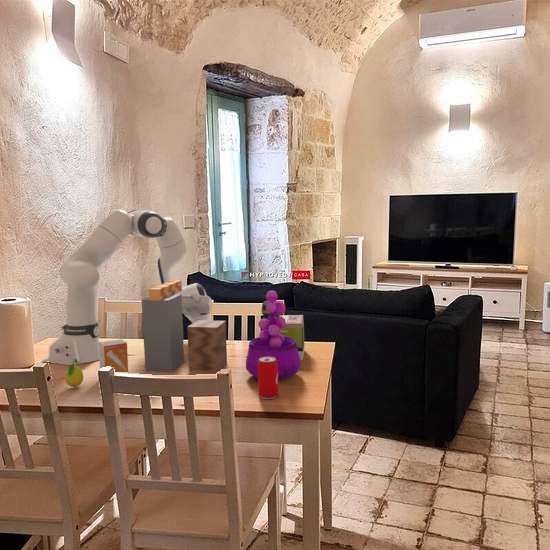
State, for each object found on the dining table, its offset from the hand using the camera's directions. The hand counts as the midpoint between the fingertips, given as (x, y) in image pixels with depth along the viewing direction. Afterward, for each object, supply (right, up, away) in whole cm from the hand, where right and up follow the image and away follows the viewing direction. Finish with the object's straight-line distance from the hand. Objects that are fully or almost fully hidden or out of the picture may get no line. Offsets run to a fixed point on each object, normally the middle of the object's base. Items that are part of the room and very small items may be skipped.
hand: (181, 295), depth 215 cm
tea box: (+44, -24, -5) cm, 50 cm away
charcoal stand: (-3, -26, -16) cm, 30 cm away
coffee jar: (+37, -21, +13) cm, 45 cm away
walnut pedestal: (+13, -26, -17) cm, 33 cm away
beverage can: (+36, -30, -49) cm, 68 cm away
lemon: (-28, -29, -38) cm, 55 cm away
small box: (-18, -28, -29) cm, 44 cm away
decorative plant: (+37, -27, -31) cm, 55 cm away
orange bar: (-3, +1, -16) cm, 16 cm away
